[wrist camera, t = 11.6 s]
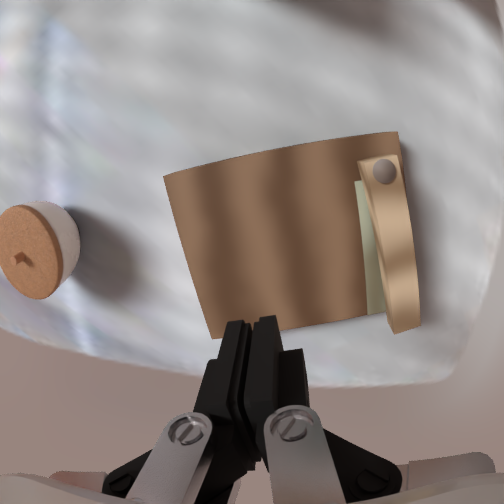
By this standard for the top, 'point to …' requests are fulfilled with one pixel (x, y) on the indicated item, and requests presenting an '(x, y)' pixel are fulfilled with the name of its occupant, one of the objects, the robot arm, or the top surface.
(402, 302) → the oak leg
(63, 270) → the lidded jar
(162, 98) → the top surface
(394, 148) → the brown wooden flat board
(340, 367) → the top surface
